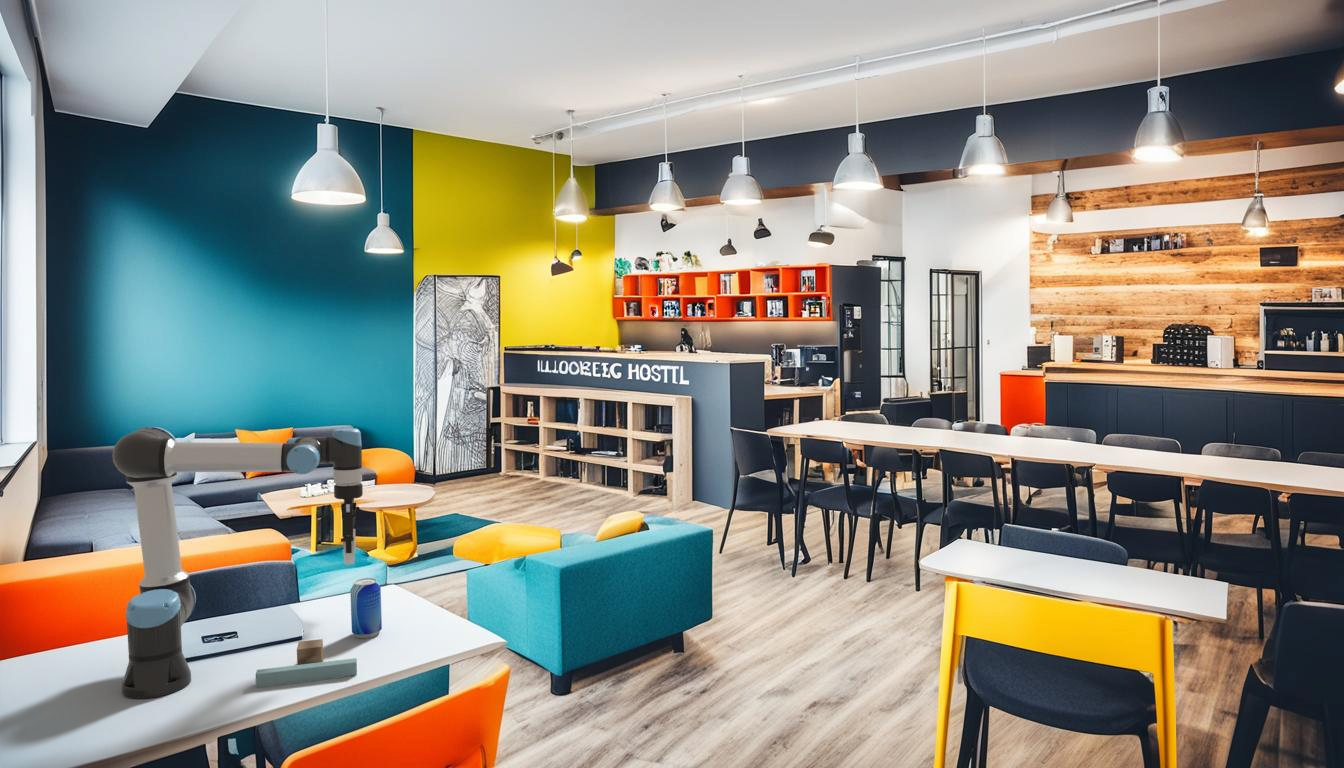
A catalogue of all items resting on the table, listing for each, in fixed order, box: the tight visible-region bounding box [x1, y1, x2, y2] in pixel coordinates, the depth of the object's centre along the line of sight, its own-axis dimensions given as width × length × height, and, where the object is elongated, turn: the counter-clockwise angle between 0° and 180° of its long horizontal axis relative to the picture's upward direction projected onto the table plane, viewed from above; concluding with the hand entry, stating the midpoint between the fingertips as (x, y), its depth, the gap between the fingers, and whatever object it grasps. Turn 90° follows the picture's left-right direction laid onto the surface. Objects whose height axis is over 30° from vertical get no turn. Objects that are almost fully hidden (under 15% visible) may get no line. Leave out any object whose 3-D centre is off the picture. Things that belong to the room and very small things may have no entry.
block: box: [296, 638, 324, 665], centre depth 235 cm, size 6×6×6 cm
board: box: [255, 657, 358, 688], centre depth 226 cm, size 24×3×4 cm, turn 108°
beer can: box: [350, 577, 383, 639], centre depth 258 cm, size 8×8×16 cm
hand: (350, 557), depth 247 cm, fingers open, 13 cm apart
